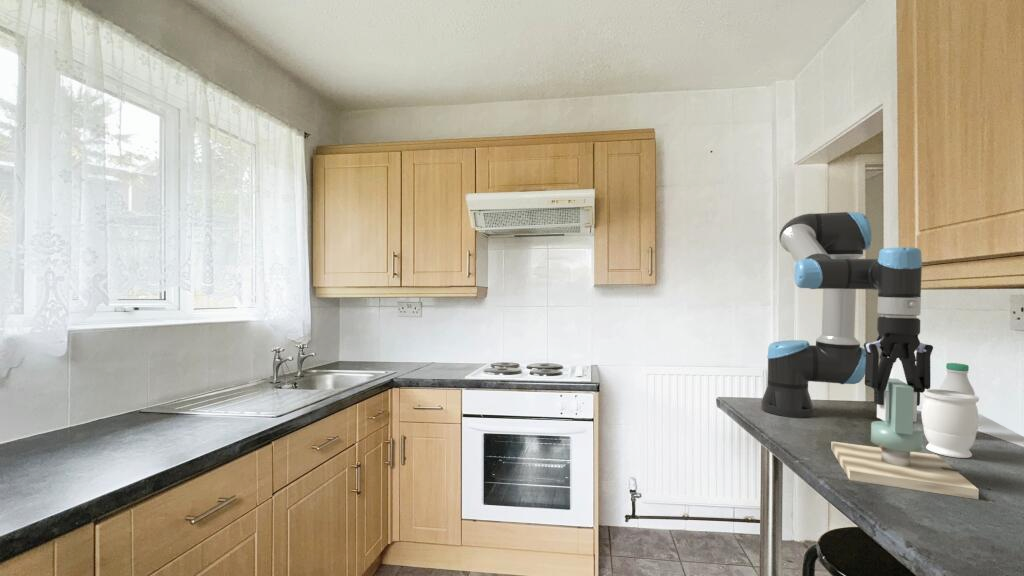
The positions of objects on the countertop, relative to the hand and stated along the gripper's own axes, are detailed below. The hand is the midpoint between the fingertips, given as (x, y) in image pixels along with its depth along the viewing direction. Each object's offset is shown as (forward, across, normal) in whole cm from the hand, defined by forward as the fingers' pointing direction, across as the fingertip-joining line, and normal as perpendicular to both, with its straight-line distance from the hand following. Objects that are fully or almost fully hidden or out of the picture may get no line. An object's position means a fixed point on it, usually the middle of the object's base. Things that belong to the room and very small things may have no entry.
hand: (896, 419), depth 108 cm
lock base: (+12, 0, 0) cm, 12 cm away
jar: (+12, +23, +14) cm, 29 cm away
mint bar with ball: (+6, 0, +1) cm, 6 cm away
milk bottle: (+12, +38, +29) cm, 49 cm away
